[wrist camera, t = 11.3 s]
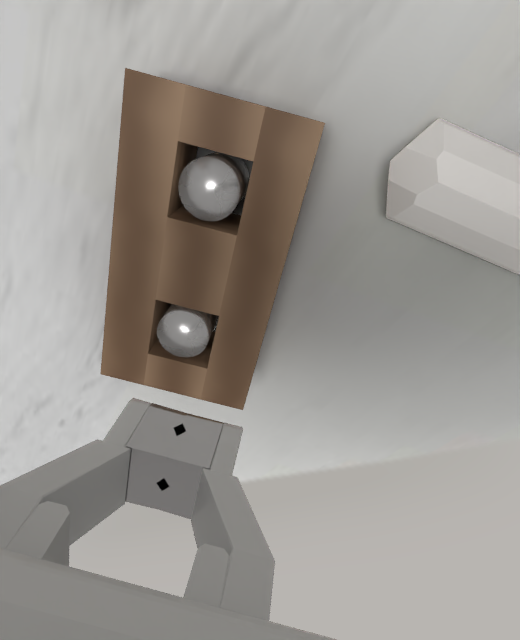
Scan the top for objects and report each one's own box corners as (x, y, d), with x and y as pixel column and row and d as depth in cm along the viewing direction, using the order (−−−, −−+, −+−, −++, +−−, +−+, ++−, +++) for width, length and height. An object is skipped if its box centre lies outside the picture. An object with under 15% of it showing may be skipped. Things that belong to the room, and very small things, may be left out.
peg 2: (225, 290, 35) (212, 319, 30) (216, 329, 37) (203, 362, 32) (180, 278, 35) (160, 305, 30) (173, 318, 37) (153, 350, 32)
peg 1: (254, 158, 31) (245, 166, 26) (242, 211, 32) (232, 228, 27) (202, 144, 30) (183, 149, 25) (194, 198, 32) (174, 212, 27)
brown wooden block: (320, 122, 29) (324, 123, 24) (250, 370, 39) (242, 409, 34) (157, 77, 29) (125, 67, 24) (128, 339, 39) (100, 374, 33)
